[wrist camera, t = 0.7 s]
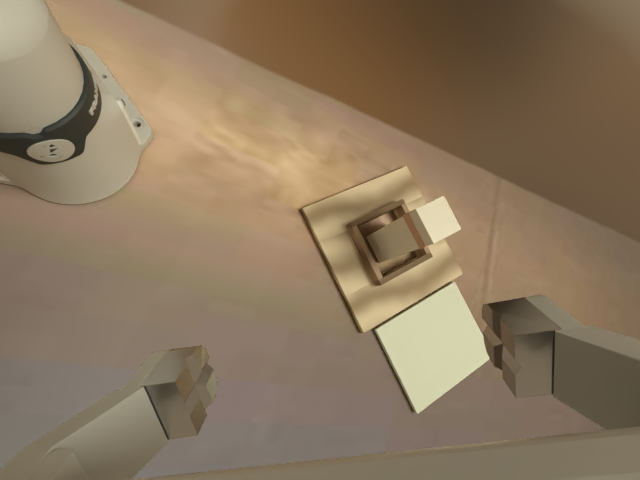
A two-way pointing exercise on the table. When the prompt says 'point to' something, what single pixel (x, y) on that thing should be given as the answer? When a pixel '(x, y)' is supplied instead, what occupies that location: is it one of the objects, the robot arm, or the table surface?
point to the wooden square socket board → (356, 260)
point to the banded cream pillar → (414, 230)
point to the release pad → (433, 345)
